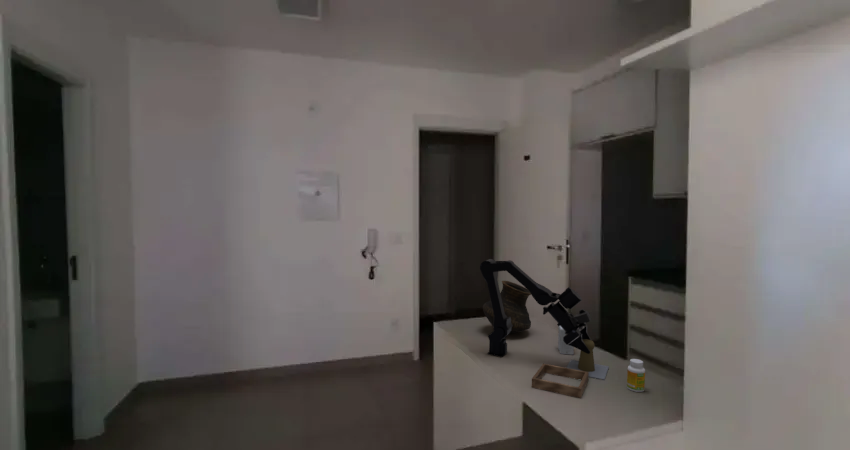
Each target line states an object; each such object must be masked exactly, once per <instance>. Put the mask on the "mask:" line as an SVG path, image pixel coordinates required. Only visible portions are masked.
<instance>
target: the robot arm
mask: <svg viewBox="0 0 850 450" xmlns="http://www.w3.org/2000/svg"><path fill="white" fill-rule="evenodd" d="M518 266H519V265H516V264H515V263H514V261H513V260H494V259H492V258H489V259H486V260H483V261H482V262H481V263H480V264H479V270H480V273H481V275H482V278H484V279H483V280H484V281H485V282H486V284H487V289H488V294H489V299H490V300H491V304H492V308H493V313H494V323H493V326H492V327H493V331H492V332H491V333H490V334H489V335H488V336H487V338H488V342H489V343H488V348H489V350H488V352H487V355H490V356H495V357H500V358H503V357H504V356H505V355H507V354H508V343H507V339H506V338H507V336H508V335H509V334H511V333H510V332H511V329H512V326H513V325H512V323H511V317H507V316H506V315H505V312H504V308H503V303H502V299H501V294H500V293H501V290H500V287H499V282H498V281H499V280H498V277H499V272H507V273H509V275H510V276H512V277H513V278H514V279H516V281H517V282H519V284H521V286H523V287H524V288H526V289H528V290H529V292H530V293H531V295H530V296H532V298H533V299H534V300H535V301H536V303H537V304H538V305H540V306H543V307H542V310H543V312H542V314H543V315H546V314H548V313H549V315H551V316H552V318H553V319H554V321H556V322H557V326H561V327H562V328H563V329H564V330H565V334H566V335H565V336H564V337H563V341H564V342H565V343H566V345H568V344H569V346H573V347H574V349H577V350H579V351H580V352H581V351H583V352H585V353H587V354H589V353H590V350H589V349H588V347H587V346H586V344H585V343H584V341H583V339H588V340H592V338H591V337H590V335H589V333H588V323H590V322H591V320H592V318H591V315H590V312H589V311H588V310H585V308H582V309H580V310H579V313H577V314H573V313H572V312H570V313H569V311H568V309H569V310H572V309H573V308H574V307H576V306H577V305H578V304H579V303H581V302H582V301H583V298H582V296H581V295H580V293H578V292H577V291H576V290H574V289H573V288H572V287H571V286H568V287H567V288H566V289H565V290H564V291H562V292H561V293H557V292H553V291H552V290H551V289H549V288H548V287H546V286H544V285H542V284H541V283H538V282H537V281H535V280H534V279H532V278H531V276H529V275H528V274H527V273H526V272H525V271H524V270H522V269H521V268H520V267H518Z"/></svg>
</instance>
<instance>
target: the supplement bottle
mask: <svg viewBox="0 0 850 450" xmlns="http://www.w3.org/2000/svg"><path fill="white" fill-rule="evenodd" d="M626 375H627V376H626V378H627V379H626V388H627V389H628V390H630V391H632V392H635V393H642V392H644V391H645V387H646V386H645V385H646V383H645V382H646V369H645V367H644V361H643V360H641V359H638V358H631V359H630V360H629V365H628V366H627V374H626Z"/></svg>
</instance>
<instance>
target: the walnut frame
mask: <svg viewBox="0 0 850 450" xmlns="http://www.w3.org/2000/svg"><path fill="white" fill-rule="evenodd" d="M545 374H549V375H554V376H555V375H556V376H559V377H563V378H569V377H570V378H571V379H574V378H575V380H578V379H581V380H580V383H579V385H578V386H574V385H569V384H565V383H560V382H555V381H552V380H551V381H550V380H546V379H542V378H543V376H544V375H545ZM570 378H569V379H570ZM589 378H590V377H589V372H585V371H580V370H575V369H570V368H566V367H563V366H559V365H553V364H548V363H542V364H541V366H539V369H537V371H535V373H534V374H533V376H532V378H531V388H534V389H539V390H543V391H546V392H551V393H557V394H561V395H565V396H570V397H574V398H579V399H581V398H582V396H583V394H584V392H585V389H586V387H587V385H588V382H589Z"/></svg>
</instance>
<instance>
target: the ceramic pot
mask: <svg viewBox="0 0 850 450" xmlns="http://www.w3.org/2000/svg"><path fill="white" fill-rule="evenodd" d="M501 284H502V289H501V290H500V294H501V299H502V303H503V308H504V312H505V315H506V316H507V317H511V323H512V325H513V326H512V329H511V332H510V333H509V334H514V333H521V332H525V331H528V330H530V328H531V326H532V321H531V319H530V313H529V312H528V308H527V305H526V304H527V302H528V301H527V300H528V298H529V297H530V296H532V295H531V293H530V292H529V290H528V289H527V288H525V287H524V286H523V285H520V284H518V283H515V282H512V281H508V280H502V281H501ZM482 310H483V313H484V315H485V317H486V319H487V320H488V322H489V323H490V325H491V326H492V327H493V323H494V313H493V308H492V304H491V299H490V300H488V301H485V303H484V304H483V305H482Z"/></svg>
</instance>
